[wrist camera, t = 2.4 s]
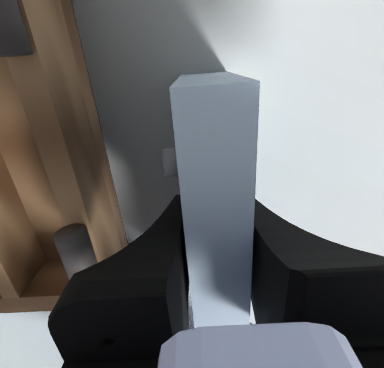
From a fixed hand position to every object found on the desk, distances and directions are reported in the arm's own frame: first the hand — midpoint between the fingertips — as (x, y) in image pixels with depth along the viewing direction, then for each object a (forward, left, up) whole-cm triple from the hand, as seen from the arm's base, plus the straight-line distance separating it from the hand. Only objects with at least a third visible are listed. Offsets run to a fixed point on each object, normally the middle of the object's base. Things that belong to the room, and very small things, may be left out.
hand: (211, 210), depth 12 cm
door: (0, 0, -2) cm, 2 cm away
